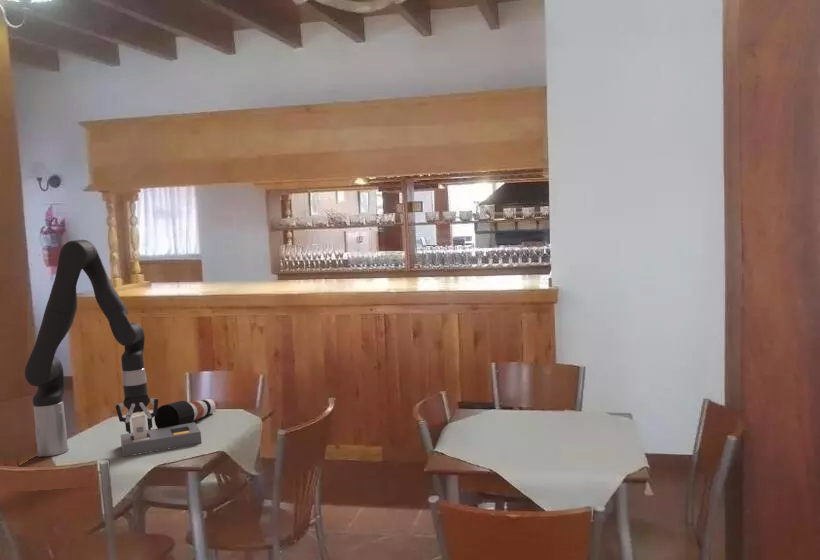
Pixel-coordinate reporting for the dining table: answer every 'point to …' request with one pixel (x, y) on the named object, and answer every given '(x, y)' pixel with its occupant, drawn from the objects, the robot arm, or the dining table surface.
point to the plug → (139, 427)
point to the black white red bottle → (183, 412)
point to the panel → (161, 439)
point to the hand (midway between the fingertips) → (139, 430)
